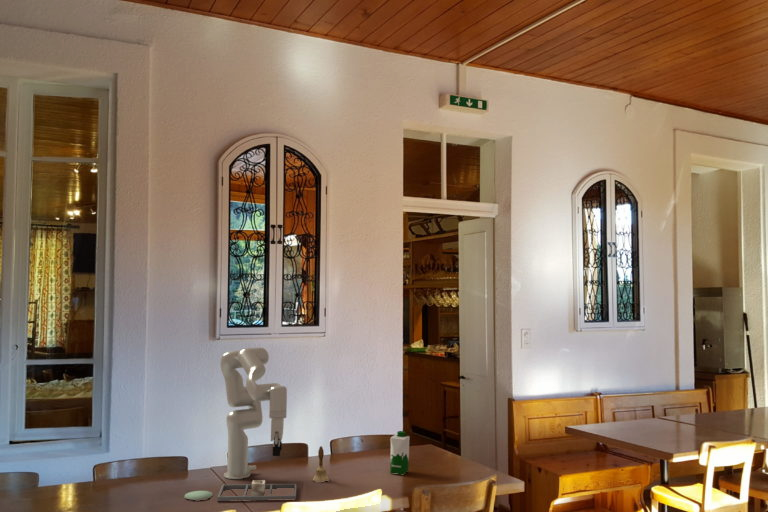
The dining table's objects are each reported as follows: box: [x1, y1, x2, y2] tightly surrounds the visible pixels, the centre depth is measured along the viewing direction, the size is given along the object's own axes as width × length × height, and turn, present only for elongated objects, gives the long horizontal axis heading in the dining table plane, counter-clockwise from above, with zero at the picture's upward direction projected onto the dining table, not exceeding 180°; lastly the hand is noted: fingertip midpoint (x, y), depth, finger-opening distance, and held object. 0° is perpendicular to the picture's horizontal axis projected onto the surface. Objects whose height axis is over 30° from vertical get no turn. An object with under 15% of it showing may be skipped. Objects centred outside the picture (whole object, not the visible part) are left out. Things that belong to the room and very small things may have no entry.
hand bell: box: [312, 446, 330, 481], centre depth 333 cm, size 8×8×16 cm
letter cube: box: [251, 479, 266, 496], centre depth 308 cm, size 6×6×6 cm
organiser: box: [216, 483, 297, 502], centre depth 308 cm, size 33×18×2 cm, turn 96°
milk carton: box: [389, 430, 411, 474], centre depth 348 cm, size 9×9×20 cm
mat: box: [184, 490, 214, 500], centre depth 305 cm, size 12×12×1 cm
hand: (277, 453), depth 309 cm, fingers open, 9 cm apart
